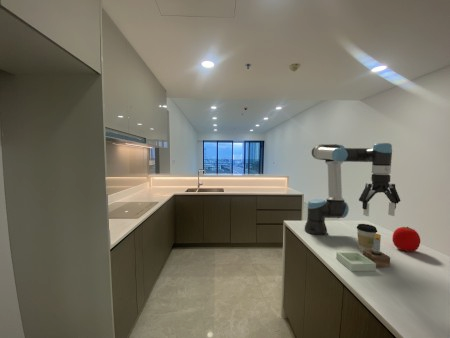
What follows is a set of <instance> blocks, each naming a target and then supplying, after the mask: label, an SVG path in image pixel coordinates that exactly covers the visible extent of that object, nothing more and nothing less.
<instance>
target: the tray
mask: <svg viewBox="0 0 450 338" xmlns="http://www.w3.org/2000/svg"><path fill="white" fill-rule="evenodd" d="M335 259H336V260H337V261H338V262H340V263H341V264H342V265H343V266H344V267H346V268H347V269H349V271H350V272H376V270H377V269H376V268H377V267H376V263H374V262H373V261H371V260H370V259H368V258H367V257H365V256H364V255H363V253H362V252H360V251H336V256H335Z"/></svg>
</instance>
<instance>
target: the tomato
mask: <svg viewBox="0 0 450 338" xmlns="http://www.w3.org/2000/svg"><path fill="white" fill-rule="evenodd" d="M392 243H393V245H394V246H395V248H396V249H399V250H401V251H405V252H410V253H411V252H416V251H418V249H419V247H420V246H421V237H420V234H419V233H418V232H417V230H416V229H414V228H411V227H409V226H400V227H398V228H396V229H395V230H394V232H393V233H392Z"/></svg>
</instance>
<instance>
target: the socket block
mask: <svg viewBox="0 0 450 338" xmlns="http://www.w3.org/2000/svg"><path fill="white" fill-rule="evenodd" d="M362 255H364V256H365V257H367V258H368V259H370V260H371V261H373V262H374V263H376V268H390V267H391V257H390V256H389V255H387V254H386V253H383V252H382V251H380V255H377V256H376V255H374V254H373V250H363V252H362Z"/></svg>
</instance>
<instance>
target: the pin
mask: <svg viewBox="0 0 450 338" xmlns="http://www.w3.org/2000/svg"><path fill="white" fill-rule="evenodd" d="M381 237H382V235H381V234H379V233H376V234H374V241H373V254H374V255H376V256H377V255H380V252H381Z"/></svg>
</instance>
